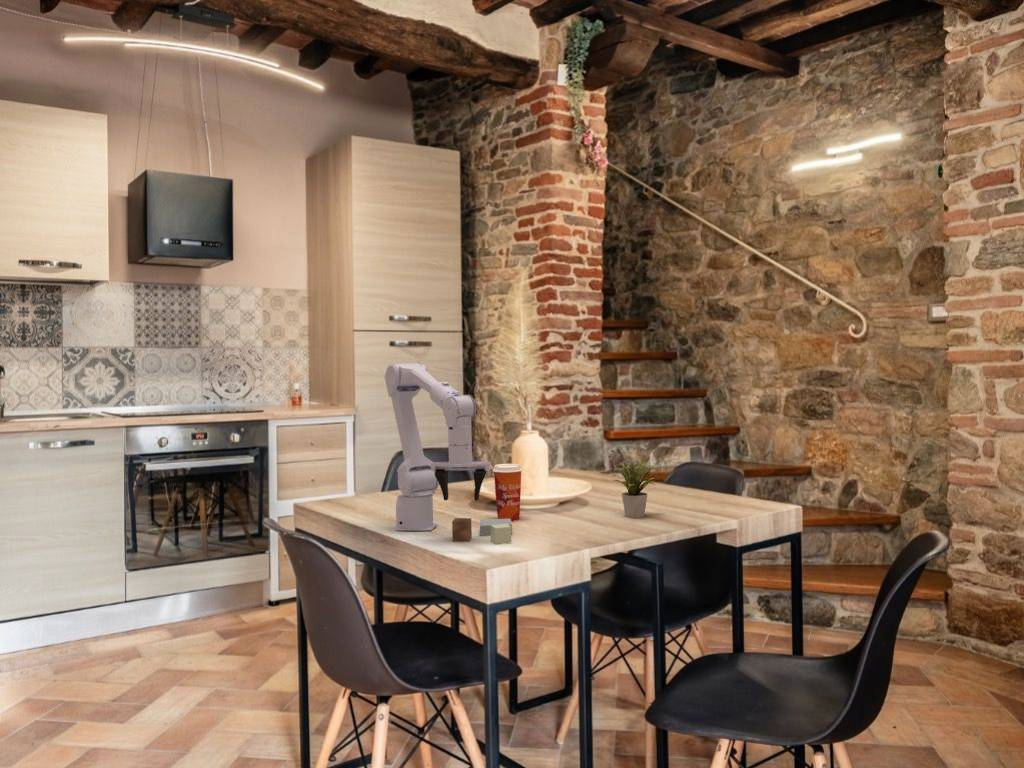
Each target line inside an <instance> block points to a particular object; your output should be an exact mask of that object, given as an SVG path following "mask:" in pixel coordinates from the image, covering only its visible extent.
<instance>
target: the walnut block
mask: <svg viewBox="0 0 1024 768" xmlns="http://www.w3.org/2000/svg"><path fill="white" fill-rule="evenodd" d="M451 533H452V542H455V543H456V542H458V543H459V542H463V543H464V542H466V543H467V542H468V543H469V542H470V540H471V539H472V538H473V537H472V535H473V534H472V517H469V518H467V517H464V518H463V517H460V518H459V517H455V518H454V519H453V520H452V521H451Z"/></svg>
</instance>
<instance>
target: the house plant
mask: <svg viewBox="0 0 1024 768" xmlns="http://www.w3.org/2000/svg"><path fill="white" fill-rule="evenodd" d="M629 458H630V460H629V461H630V463H627V465H628V466H629V467H627V466H626V464H625V463H624V462H620V464H621V467H622V468H618V467H616V466H613V467H614V468H615V469H617V471H618V472H619V473H620V474H621V476H622V477H623V479H624V480H623V481H621V480H619V479H613V480H611V481H610V482H617V483H620V484H622V485H623V486H624V487H625V488H626V489H627V491H626V492H622V493H621V497H622V504H623V508H624V509H623V510H624V515H625V517H626V518H630V519H641V517H642V518H645V513H646V506H647V502H648V501H647V499H648V493H647V492H643V489H645V487H647V486H648V485H649V484H651V485H653V486H654V487H656V485H655V481H651V480H652V479H654V477H652V478H649V479H647V480H646V479H645V478H646V477H647V475H650V474H654V473H656V471H652V470H653V469H655V467H658V466H659V465H661V464H655V465H650V466H649V467H646V468H645V469H644V466H645V464H646V462H643V458H641V459H640V460H639V463H638V465H637V467H636V469H635V466H634V463H633V459H632V458H631V457H629ZM650 471H651V472H650Z"/></svg>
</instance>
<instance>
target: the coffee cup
mask: <svg viewBox="0 0 1024 768" xmlns="http://www.w3.org/2000/svg"><path fill="white" fill-rule="evenodd" d="M522 471H524V470H523V468H522V465H521V464H519V463H499V464H494V466H493V469H492V472H493V476H494V477H493V479H494V488H495V489H494V492H495V502H496V504H495V505H496V515H497V519H511V522H515V521H514V520H516V521H518V519H519V520H520V514H521V513H520V512H521V491H522V490H521V489H522V487H521V486H522Z"/></svg>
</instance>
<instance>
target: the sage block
mask: <svg viewBox="0 0 1024 768" xmlns="http://www.w3.org/2000/svg"><path fill="white" fill-rule="evenodd" d="M490 542H492V543H493V544H494V545H503V544H502V543H506V544H511V543H512V535H511V526H509V525H507V524H497V525H491V536H490ZM510 542H511V543H510Z"/></svg>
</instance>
